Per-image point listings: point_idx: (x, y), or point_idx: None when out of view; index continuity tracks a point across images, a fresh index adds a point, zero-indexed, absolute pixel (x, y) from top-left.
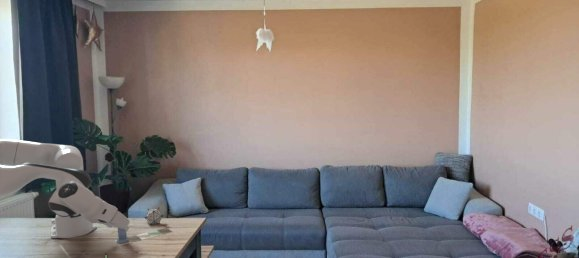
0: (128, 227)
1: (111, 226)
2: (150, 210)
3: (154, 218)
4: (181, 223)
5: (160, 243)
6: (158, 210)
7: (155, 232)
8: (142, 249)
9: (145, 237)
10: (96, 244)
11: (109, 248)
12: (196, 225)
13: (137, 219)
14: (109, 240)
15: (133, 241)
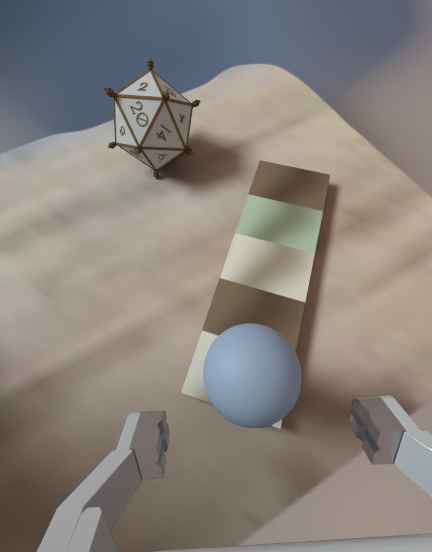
0: (395, 402)
1: (168, 434)
2: (132, 97)
3: (181, 136)
4: (247, 108)
5: (384, 270)
6: (161, 80)
7: (272, 213)
8: (392, 367)
9: (291, 274)
10: (95, 465)
11: (223, 464)
12: (314, 98)
13: (43, 154)
14: (120, 378)
15: (290, 342)
